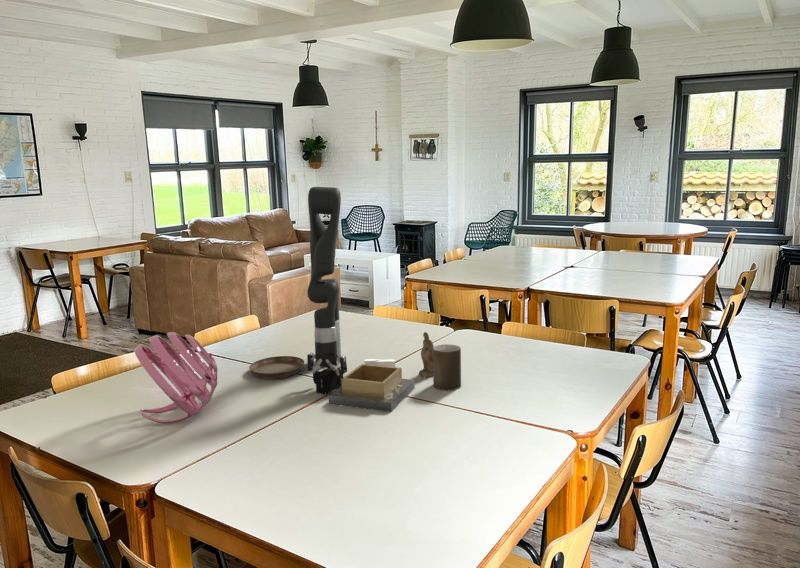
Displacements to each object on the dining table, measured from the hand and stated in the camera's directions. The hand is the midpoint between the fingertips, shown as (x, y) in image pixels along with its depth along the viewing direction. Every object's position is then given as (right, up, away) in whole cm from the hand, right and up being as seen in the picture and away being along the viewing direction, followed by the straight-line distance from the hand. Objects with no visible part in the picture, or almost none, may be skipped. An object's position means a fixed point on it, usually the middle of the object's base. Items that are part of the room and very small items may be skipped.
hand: (327, 383), depth 220 cm
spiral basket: (-44, -7, -20) cm, 49 cm away
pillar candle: (+42, -1, +1) cm, 42 cm away
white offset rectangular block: (+17, +1, +16) cm, 24 cm away
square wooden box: (+16, -3, -8) cm, 18 cm away
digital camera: (0, -2, 0) cm, 2 cm away
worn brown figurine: (+38, +2, +15) cm, 40 cm away
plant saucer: (-21, +1, +20) cm, 29 cm away
